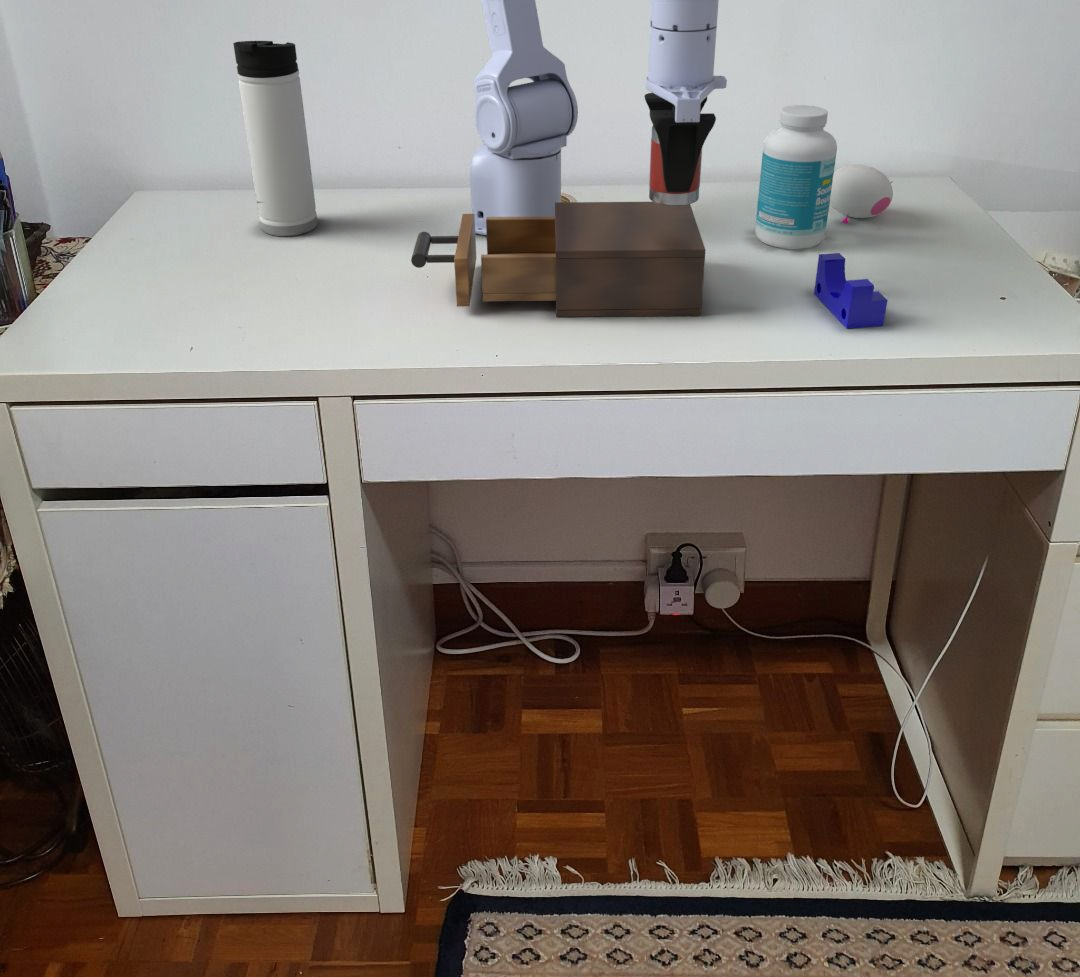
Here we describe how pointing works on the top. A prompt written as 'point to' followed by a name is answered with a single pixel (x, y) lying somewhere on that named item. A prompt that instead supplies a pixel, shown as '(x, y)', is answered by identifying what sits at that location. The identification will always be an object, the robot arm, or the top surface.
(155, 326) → the top surface
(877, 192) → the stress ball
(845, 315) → the cable holder
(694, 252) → the organiser
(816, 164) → the pill bottle
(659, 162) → the can
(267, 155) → the travel mug
